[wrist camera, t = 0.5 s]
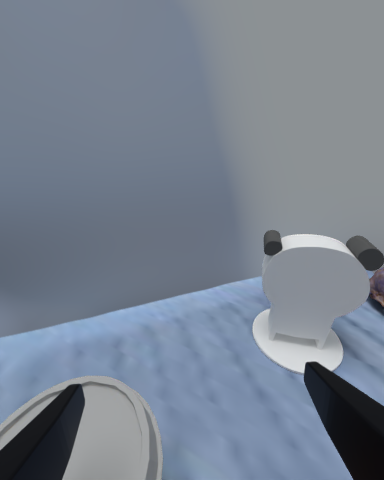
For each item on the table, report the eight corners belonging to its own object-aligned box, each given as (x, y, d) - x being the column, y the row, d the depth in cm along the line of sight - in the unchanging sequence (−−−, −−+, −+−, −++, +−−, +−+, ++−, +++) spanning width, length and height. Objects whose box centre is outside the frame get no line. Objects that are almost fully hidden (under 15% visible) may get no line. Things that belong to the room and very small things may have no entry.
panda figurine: (333, 315, 34) (358, 224, 28) (364, 388, 24) (414, 270, 18) (253, 304, 37) (261, 220, 31) (251, 363, 27) (261, 256, 21)
